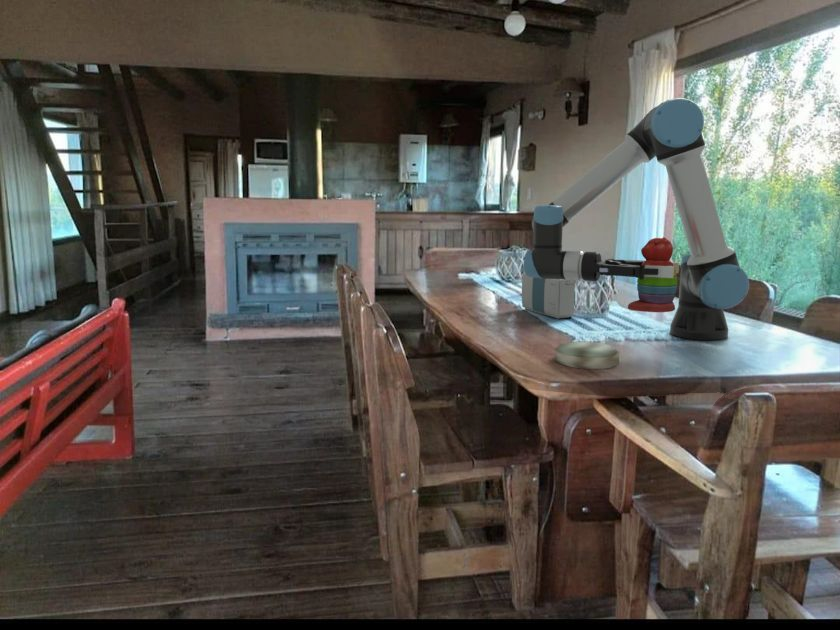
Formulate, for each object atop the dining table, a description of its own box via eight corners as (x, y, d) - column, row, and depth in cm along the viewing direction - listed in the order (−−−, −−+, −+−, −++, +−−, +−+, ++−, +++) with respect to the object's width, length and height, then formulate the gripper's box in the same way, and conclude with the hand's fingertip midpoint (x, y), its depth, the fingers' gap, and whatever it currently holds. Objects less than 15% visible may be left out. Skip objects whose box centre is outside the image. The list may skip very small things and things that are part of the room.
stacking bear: (645, 303, 167) (649, 235, 164) (683, 308, 160) (688, 237, 157) (624, 309, 160) (627, 237, 157) (663, 314, 153) (667, 239, 149)
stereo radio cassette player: (520, 309, 223) (521, 252, 219) (540, 307, 226) (541, 251, 222) (556, 320, 204) (558, 257, 200) (577, 318, 207) (579, 256, 203)
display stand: (619, 355, 160) (620, 343, 160) (617, 371, 146) (618, 358, 146) (558, 351, 165) (559, 339, 164) (551, 366, 151) (551, 353, 151)
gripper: (593, 275, 177) (680, 279, 166) (571, 285, 158) (668, 291, 147) (594, 248, 175) (682, 250, 164) (572, 255, 157) (670, 258, 146)
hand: (676, 269), depth 156 cm, fingers closed on stacking bear, 9 cm apart
